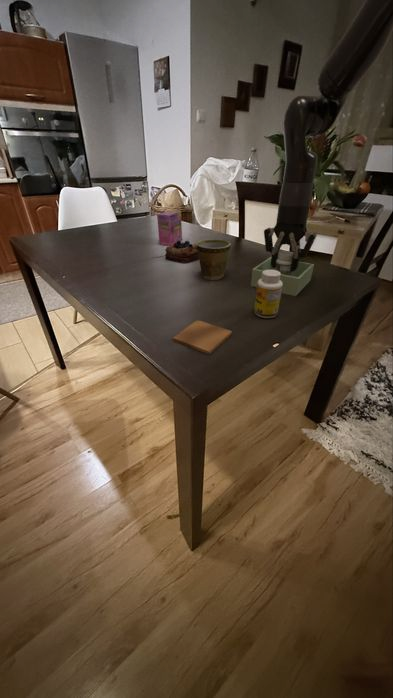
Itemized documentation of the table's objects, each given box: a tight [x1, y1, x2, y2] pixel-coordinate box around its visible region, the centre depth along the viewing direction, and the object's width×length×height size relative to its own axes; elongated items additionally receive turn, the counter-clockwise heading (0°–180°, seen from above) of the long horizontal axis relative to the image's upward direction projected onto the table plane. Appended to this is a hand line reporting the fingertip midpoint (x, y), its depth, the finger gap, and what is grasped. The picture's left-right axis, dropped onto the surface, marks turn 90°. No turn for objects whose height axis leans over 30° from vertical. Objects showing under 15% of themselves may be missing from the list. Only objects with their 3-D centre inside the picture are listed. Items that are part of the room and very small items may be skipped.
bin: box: [250, 256, 315, 297], centre depth 81 cm, size 13×13×5 cm
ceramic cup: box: [195, 238, 231, 281], centre depth 87 cm, size 13×10×10 cm
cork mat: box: [172, 319, 233, 356], centre depth 59 cm, size 9×9×1 cm
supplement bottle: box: [253, 270, 283, 319], centre depth 65 cm, size 6×6×10 cm
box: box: [156, 209, 183, 247], centre depth 118 cm, size 10×6×12 cm, turn 155°
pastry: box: [164, 240, 199, 264], centre depth 102 cm, size 11×12×6 cm
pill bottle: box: [275, 250, 294, 276], centre depth 80 cm, size 5×5×8 cm
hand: (283, 268), depth 80 cm, fingers closed on pill bottle, 4 cm apart
